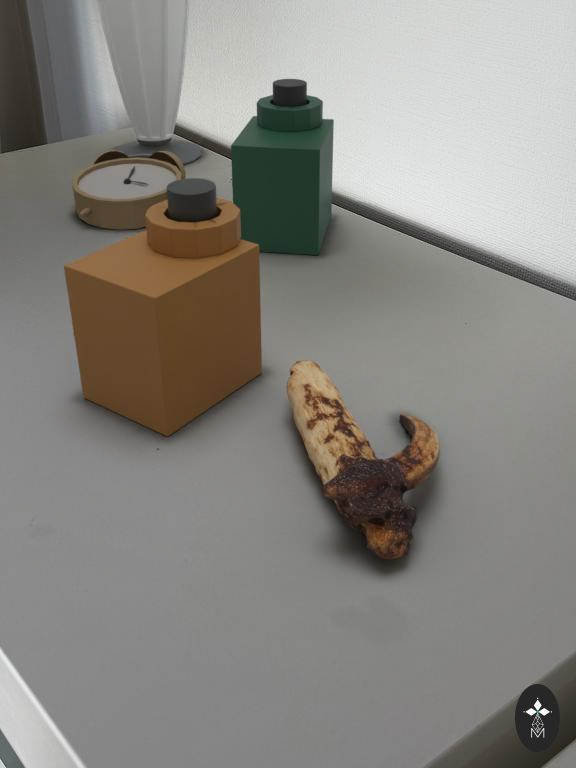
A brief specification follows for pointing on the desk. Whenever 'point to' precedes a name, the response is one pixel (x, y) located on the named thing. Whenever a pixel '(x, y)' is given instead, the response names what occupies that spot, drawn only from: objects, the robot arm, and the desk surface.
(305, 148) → the green bottle
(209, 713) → the desk surface
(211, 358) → the amber bottle
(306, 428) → the lashed bone hook
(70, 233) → the desk surface
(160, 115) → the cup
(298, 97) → the short charcoal cylinder
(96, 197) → the alarm clock
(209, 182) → the dark grey cylinder
